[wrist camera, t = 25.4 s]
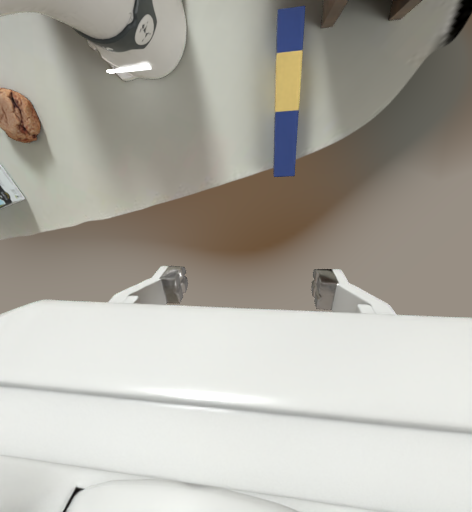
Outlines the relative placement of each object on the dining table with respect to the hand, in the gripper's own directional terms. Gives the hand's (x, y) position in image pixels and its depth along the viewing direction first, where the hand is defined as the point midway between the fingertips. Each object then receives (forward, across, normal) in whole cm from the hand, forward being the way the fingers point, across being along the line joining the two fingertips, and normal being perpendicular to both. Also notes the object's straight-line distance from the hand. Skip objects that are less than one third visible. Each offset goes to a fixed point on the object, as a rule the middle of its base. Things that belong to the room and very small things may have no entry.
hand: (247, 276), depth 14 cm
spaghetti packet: (+39, -5, -12) cm, 41 cm away
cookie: (+39, +52, -14) cm, 67 cm away
